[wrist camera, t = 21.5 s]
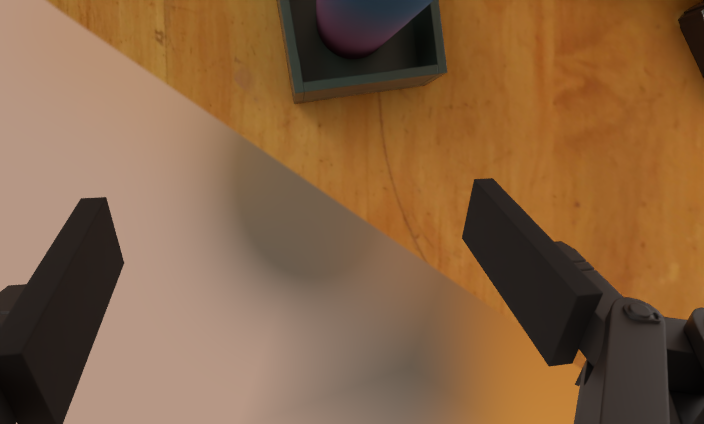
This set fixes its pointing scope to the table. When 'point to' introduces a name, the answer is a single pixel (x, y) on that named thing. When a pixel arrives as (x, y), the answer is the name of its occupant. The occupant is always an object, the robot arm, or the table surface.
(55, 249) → the robot arm
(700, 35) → the ink cartridge
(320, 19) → the cup
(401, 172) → the table surface
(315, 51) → the cup holder
